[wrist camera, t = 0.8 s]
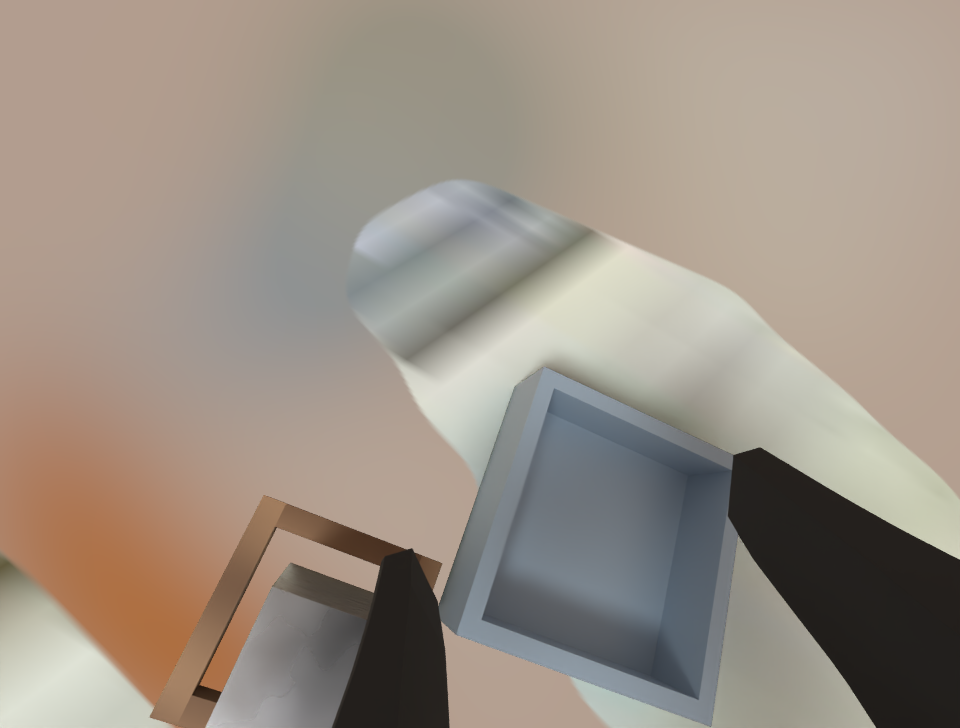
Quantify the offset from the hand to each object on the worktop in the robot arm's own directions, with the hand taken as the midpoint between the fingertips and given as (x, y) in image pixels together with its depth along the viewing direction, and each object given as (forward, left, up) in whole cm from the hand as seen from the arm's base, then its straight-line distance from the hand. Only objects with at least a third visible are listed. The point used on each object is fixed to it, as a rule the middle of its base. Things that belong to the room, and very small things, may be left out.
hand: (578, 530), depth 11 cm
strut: (-6, +4, -14) cm, 16 cm away
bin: (+2, -7, -14) cm, 16 cm away
